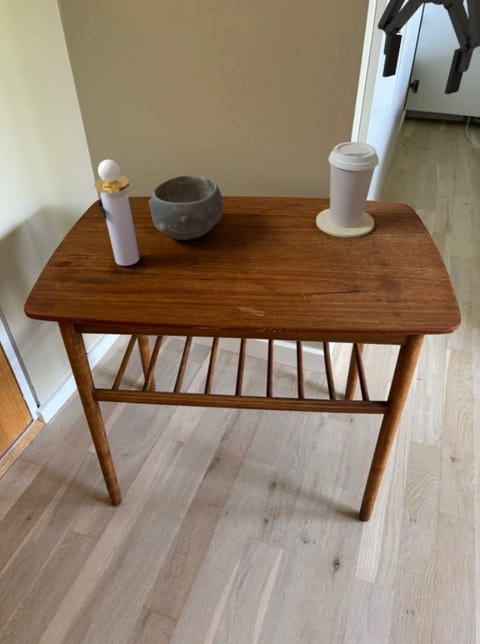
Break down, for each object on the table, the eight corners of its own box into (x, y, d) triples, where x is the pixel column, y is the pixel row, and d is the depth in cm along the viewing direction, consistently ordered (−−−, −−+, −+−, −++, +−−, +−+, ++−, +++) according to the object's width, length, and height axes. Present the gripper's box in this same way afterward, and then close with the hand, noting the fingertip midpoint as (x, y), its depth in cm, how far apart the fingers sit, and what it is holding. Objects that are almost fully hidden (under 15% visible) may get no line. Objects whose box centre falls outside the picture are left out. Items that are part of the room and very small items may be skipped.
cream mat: (385, 222, 102) (385, 220, 101) (350, 244, 95) (350, 241, 95) (339, 204, 108) (339, 201, 108) (304, 223, 102) (304, 220, 102)
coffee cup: (318, 228, 99) (325, 156, 89) (326, 207, 106) (333, 138, 96) (366, 234, 97) (378, 161, 87) (370, 212, 104) (382, 142, 94)
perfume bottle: (141, 252, 95) (123, 151, 82) (144, 268, 91) (126, 165, 77) (112, 256, 94) (88, 155, 81) (113, 272, 90) (89, 169, 76)
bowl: (234, 221, 103) (233, 177, 97) (204, 259, 92) (200, 212, 86) (176, 211, 107) (171, 167, 101) (141, 246, 96) (132, 200, 90)
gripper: (546, -72, 65) (495, 96, 79) (401, -74, 81) (379, 66, 94) (514, -69, 62) (467, 105, 76) (369, -72, 77) (352, 73, 91)
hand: (418, 84), depth 85 cm, fingers open, 13 cm apart
